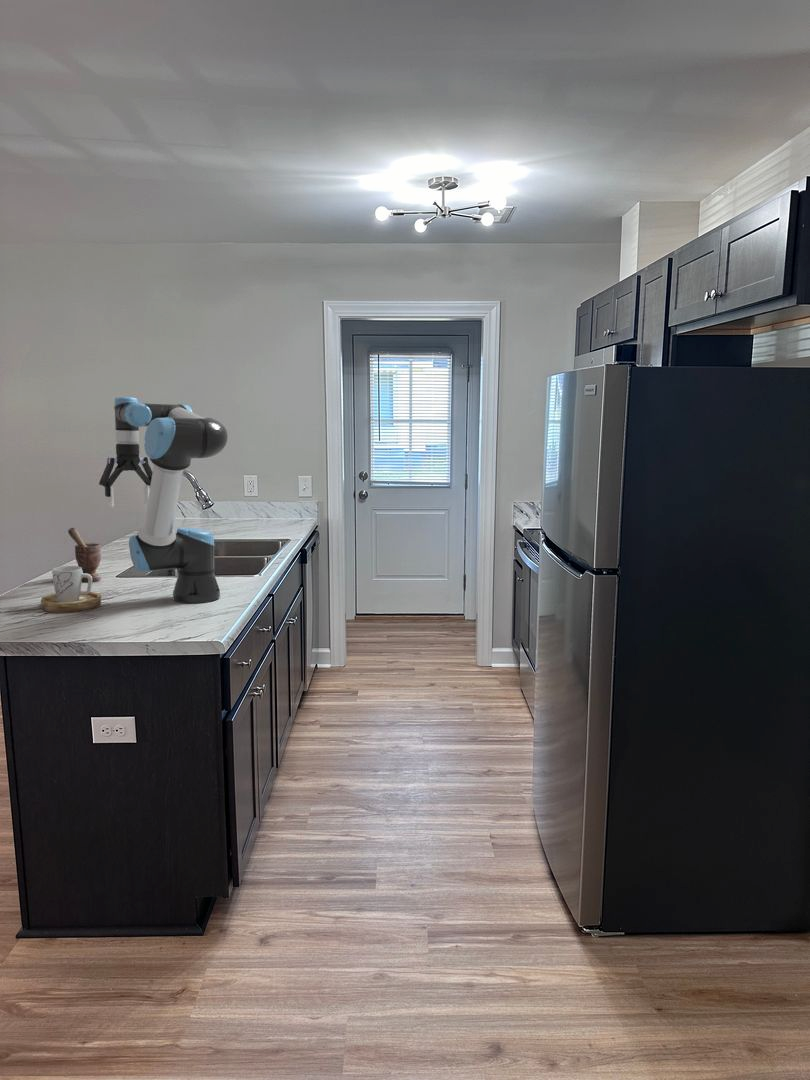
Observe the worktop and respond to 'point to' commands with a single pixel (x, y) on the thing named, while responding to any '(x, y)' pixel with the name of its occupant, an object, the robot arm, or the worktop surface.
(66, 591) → the mug
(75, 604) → the round wooden tray
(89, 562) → the mortar and pestle
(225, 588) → the worktop surface
